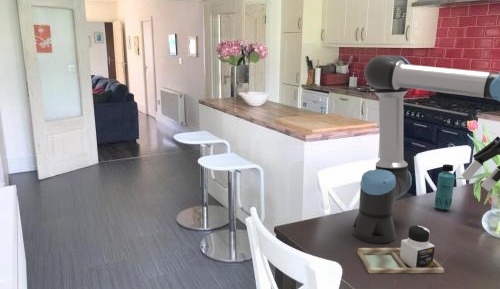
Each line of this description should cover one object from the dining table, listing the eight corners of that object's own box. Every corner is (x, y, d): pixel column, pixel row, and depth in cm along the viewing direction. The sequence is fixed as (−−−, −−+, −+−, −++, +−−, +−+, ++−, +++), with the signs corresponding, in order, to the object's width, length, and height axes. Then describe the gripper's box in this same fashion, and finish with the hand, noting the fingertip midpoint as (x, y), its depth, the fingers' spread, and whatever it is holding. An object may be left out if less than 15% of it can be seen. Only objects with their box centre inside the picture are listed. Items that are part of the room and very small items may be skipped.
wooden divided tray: (368, 273, 121) (369, 267, 120) (357, 253, 133) (357, 247, 132) (443, 272, 121) (444, 267, 121) (425, 253, 133) (426, 247, 133)
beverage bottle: (431, 206, 174) (437, 162, 169) (447, 207, 173) (453, 163, 169) (436, 212, 168) (442, 166, 163) (453, 213, 167) (459, 167, 162)
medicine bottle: (415, 270, 122) (419, 234, 120) (398, 259, 129) (402, 225, 126) (432, 266, 125) (437, 230, 123) (415, 255, 132) (419, 222, 129)
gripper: (561, 142, 107) (504, 201, 111) (510, 132, 132) (465, 180, 135) (539, 125, 107) (483, 185, 111) (492, 118, 131) (448, 167, 135)
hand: (473, 182), depth 123 cm, fingers open, 13 cm apart
